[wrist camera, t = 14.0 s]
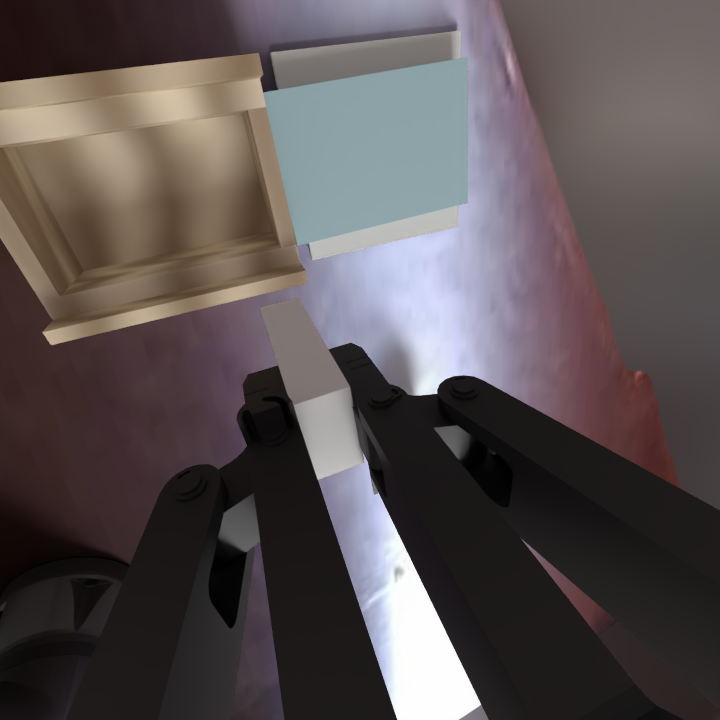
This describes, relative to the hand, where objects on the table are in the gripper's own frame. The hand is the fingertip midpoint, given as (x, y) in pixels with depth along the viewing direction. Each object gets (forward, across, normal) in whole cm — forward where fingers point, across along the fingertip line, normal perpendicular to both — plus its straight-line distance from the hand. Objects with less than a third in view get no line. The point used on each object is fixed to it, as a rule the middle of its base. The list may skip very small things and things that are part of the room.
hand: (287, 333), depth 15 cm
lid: (+22, +12, +4) cm, 26 cm away
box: (+23, -5, +4) cm, 24 cm away
